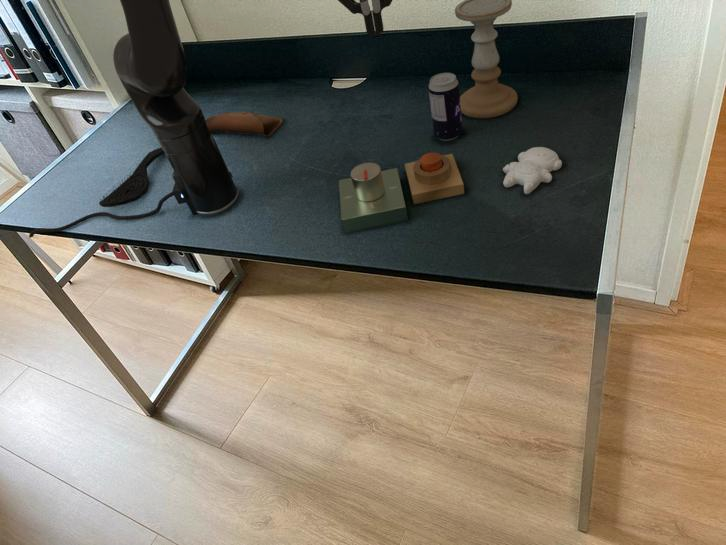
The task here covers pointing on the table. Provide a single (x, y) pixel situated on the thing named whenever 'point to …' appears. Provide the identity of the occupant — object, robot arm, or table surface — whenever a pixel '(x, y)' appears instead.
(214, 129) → the sunglasses case
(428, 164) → the button
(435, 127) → the beverage can
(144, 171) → the hairbrush
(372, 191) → the rotary dial knob
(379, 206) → the control knob panel
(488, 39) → the candle holder
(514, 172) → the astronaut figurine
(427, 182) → the button block
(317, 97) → the table surface
